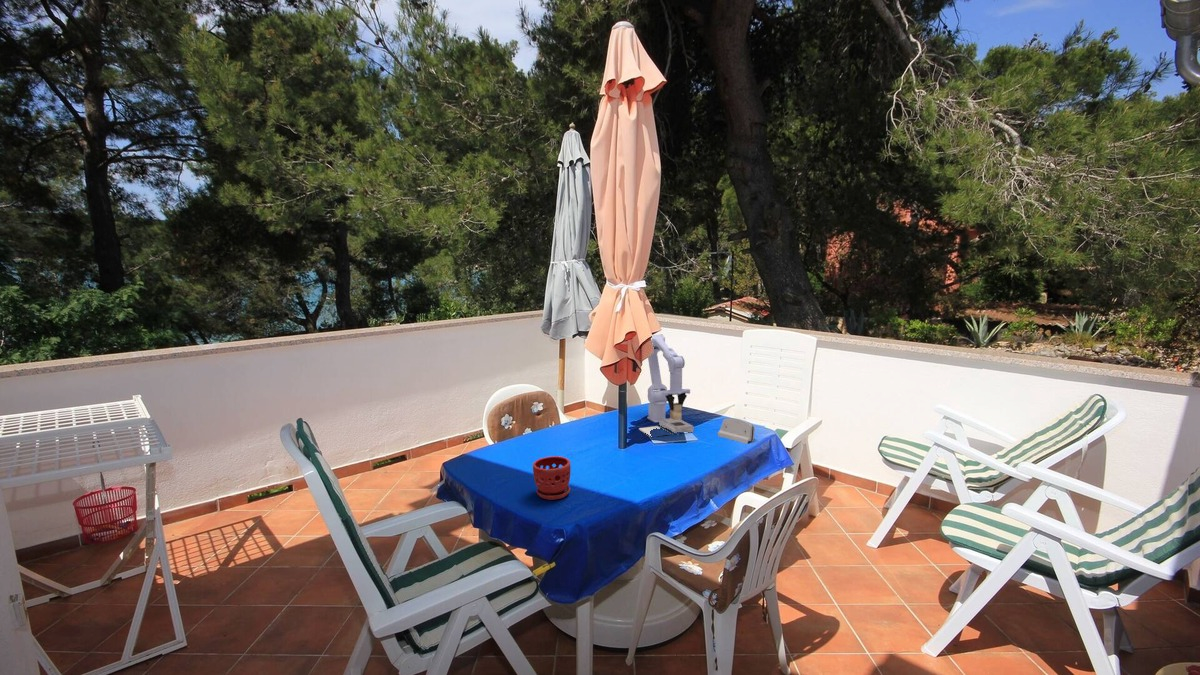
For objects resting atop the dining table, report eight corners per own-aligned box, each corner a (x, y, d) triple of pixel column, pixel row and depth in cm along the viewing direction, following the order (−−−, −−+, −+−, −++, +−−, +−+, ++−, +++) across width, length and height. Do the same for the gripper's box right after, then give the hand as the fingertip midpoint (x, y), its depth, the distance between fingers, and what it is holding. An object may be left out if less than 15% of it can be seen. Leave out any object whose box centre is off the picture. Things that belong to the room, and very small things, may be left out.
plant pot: (555, 484, 203) (554, 452, 201) (578, 494, 193) (578, 462, 191) (526, 494, 194) (525, 461, 192) (549, 506, 184) (548, 471, 183)
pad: (638, 429, 268) (638, 428, 267) (657, 427, 271) (657, 425, 271) (651, 437, 255) (651, 436, 255) (670, 435, 258) (670, 434, 258)
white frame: (659, 425, 274) (659, 419, 273) (677, 423, 277) (677, 417, 277) (674, 434, 259) (674, 428, 258) (693, 432, 262) (693, 426, 262)
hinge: (716, 435, 257) (721, 414, 258) (722, 436, 260) (726, 416, 261) (747, 444, 245) (752, 422, 246) (753, 445, 248) (757, 423, 249)
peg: (670, 417, 266) (670, 403, 265) (677, 416, 267) (677, 402, 266) (674, 419, 262) (674, 405, 261) (681, 418, 264) (681, 404, 263)
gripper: (666, 384, 256) (666, 413, 258) (693, 381, 261) (693, 409, 263) (659, 381, 263) (659, 409, 265) (686, 379, 268) (685, 406, 270)
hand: (675, 409), depth 264 cm, fingers closed on peg, 4 cm apart
